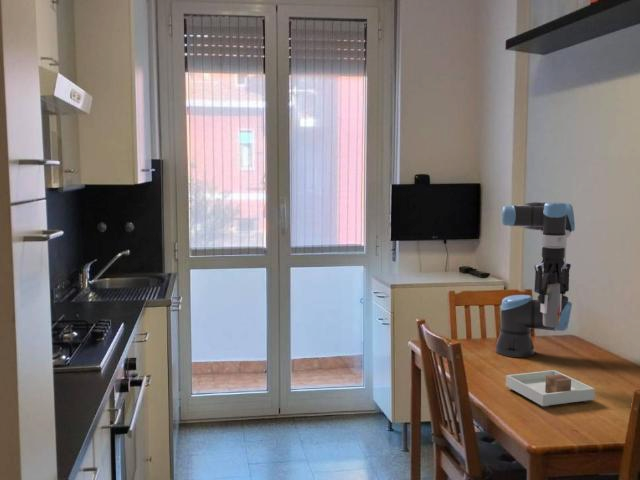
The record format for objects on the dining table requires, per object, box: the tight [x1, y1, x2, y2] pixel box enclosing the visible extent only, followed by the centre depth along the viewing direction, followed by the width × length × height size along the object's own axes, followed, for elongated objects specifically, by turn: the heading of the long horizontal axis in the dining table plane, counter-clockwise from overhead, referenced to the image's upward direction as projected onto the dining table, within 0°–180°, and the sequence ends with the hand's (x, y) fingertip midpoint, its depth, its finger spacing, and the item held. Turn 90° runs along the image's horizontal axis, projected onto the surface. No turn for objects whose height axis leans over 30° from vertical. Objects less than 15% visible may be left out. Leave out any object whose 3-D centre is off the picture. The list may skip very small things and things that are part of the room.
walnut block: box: [545, 374, 571, 393], centre depth 210 cm, size 6×6×6 cm
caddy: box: [505, 369, 596, 409], centre depth 215 cm, size 20×20×5 cm
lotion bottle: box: [543, 271, 560, 327], centre depth 230 cm, size 6×6×20 cm
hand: (550, 311), depth 230 cm, fingers closed on lotion bottle, 5 cm apart
